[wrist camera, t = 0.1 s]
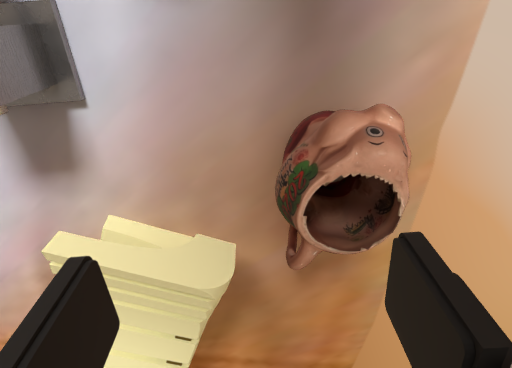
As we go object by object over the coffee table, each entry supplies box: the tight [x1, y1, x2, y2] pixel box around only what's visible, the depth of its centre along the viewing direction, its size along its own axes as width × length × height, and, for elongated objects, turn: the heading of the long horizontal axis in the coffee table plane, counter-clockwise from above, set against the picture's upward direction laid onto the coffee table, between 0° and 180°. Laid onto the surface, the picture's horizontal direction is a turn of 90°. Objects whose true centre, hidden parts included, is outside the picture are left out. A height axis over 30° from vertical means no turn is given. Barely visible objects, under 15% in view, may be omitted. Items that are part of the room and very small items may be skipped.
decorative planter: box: [275, 104, 411, 270], centre depth 37 cm, size 20×12×14 cm, turn 160°
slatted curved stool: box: [41, 215, 236, 368], centre depth 42 cm, size 30×16×18 cm, turn 161°
